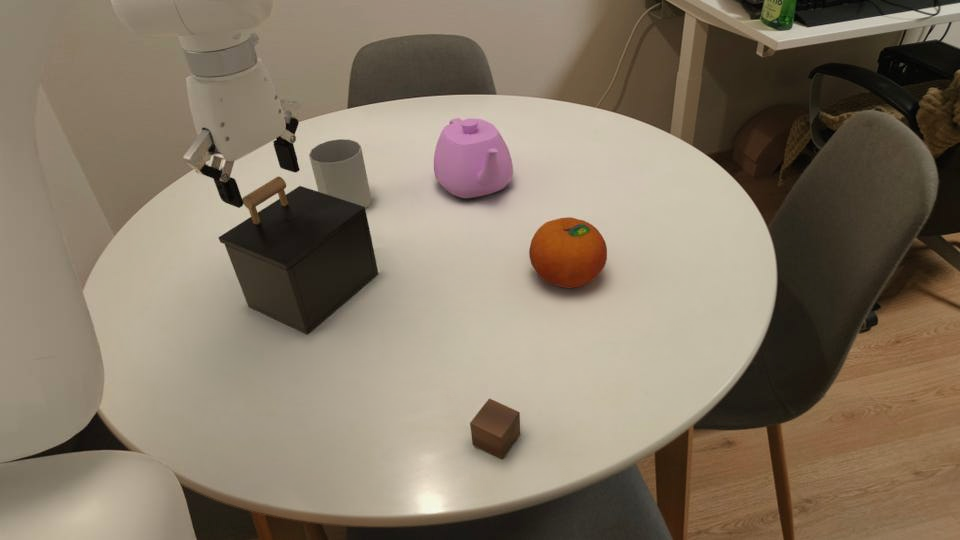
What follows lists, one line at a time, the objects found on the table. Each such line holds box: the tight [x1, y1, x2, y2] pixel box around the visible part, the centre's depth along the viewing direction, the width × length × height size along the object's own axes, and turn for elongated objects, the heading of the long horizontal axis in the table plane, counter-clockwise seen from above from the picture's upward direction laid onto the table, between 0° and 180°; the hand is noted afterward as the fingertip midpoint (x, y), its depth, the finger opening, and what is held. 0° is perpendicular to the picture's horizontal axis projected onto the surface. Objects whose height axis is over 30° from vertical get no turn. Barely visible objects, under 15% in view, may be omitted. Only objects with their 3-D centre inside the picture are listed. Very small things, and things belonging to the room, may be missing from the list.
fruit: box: [528, 216, 608, 289], centre depth 86 cm, size 11×10×8 cm
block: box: [469, 398, 521, 461], centre depth 66 cm, size 4×4×4 cm
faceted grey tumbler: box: [308, 138, 372, 210], centre depth 105 cm, size 8×8×10 cm
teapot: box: [433, 117, 514, 199], centre depth 106 cm, size 20×13×12 cm, turn 23°
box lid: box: [218, 176, 367, 270], centre depth 82 cm, size 12×15×5 cm
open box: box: [224, 211, 379, 335], centre depth 86 cm, size 12×15×11 cm
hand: (263, 186), depth 82 cm, fingers open, 9 cm apart
